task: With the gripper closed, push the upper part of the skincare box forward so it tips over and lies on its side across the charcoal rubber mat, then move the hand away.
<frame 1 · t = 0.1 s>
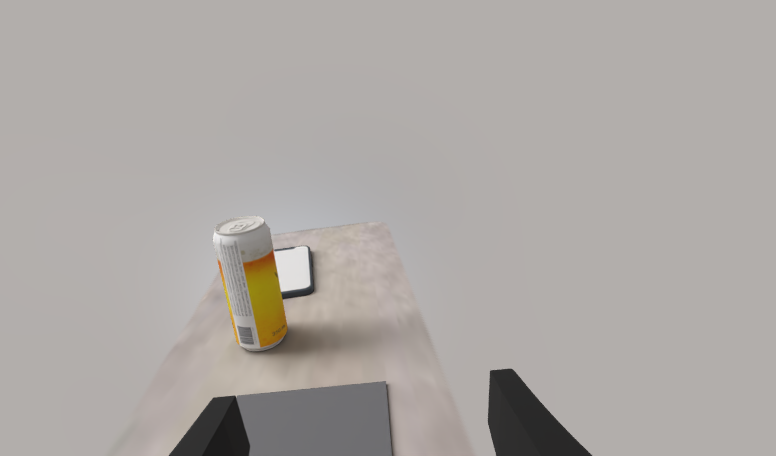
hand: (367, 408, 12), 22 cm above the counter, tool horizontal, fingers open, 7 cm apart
beer can: (263, 340, 53), on the counter
phone case: (285, 277, 70), on the counter
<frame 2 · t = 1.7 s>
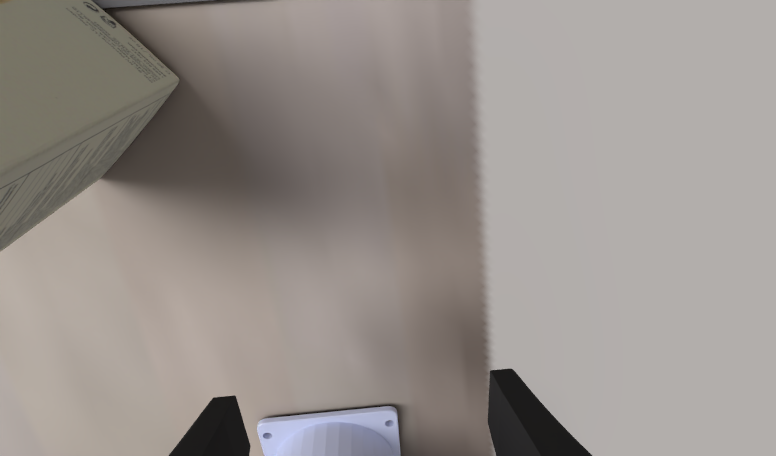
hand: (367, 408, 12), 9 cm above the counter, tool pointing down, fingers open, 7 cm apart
skincare box: (91, 95, 17), on the counter, touching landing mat
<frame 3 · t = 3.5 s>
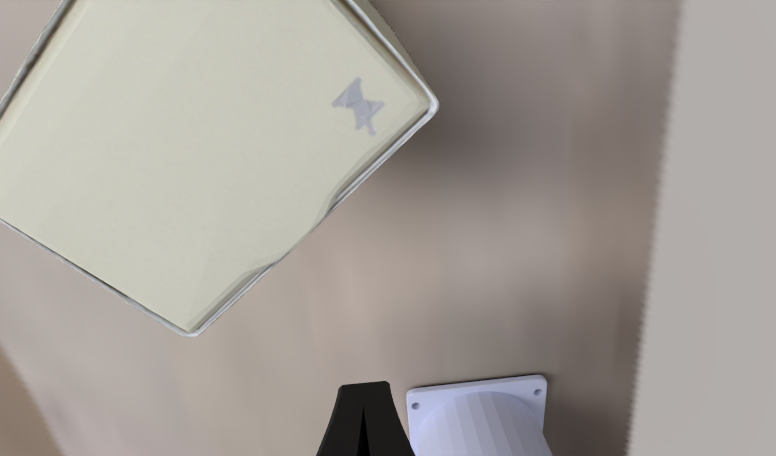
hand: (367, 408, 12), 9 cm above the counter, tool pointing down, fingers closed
skincare box: (297, 50, 17), on the counter, touching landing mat
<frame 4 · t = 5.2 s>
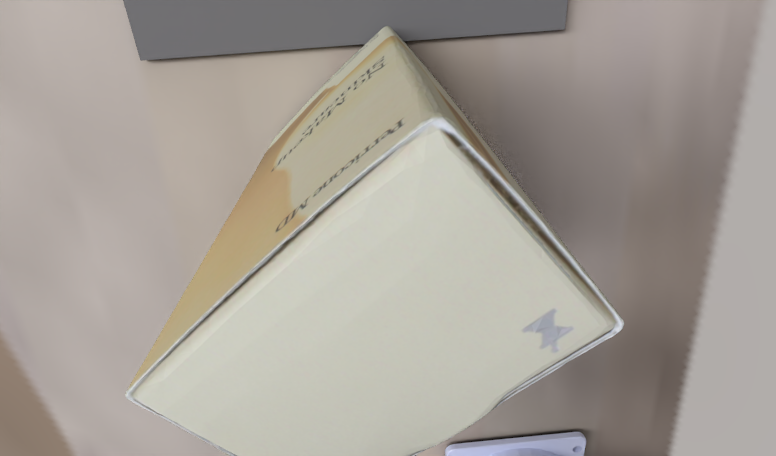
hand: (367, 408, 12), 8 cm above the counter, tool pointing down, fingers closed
skincare box: (363, 127, 17), on the counter, touching gripper, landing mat
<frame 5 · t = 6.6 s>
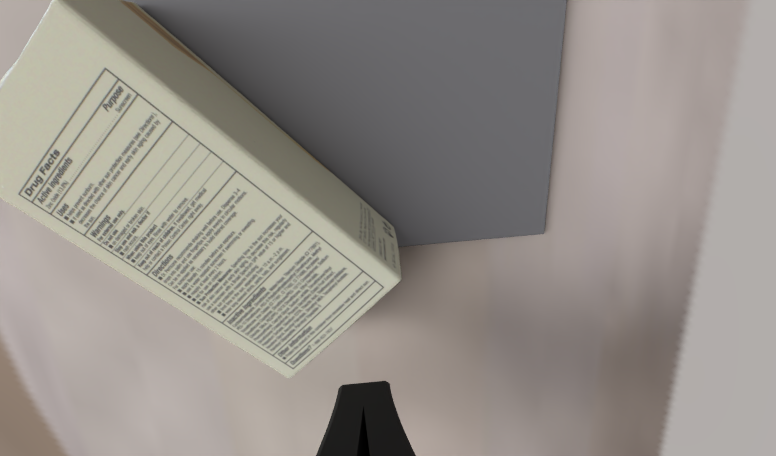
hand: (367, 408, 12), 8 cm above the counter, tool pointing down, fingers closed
skincare box: (347, 306, 17), point 2 cm above the counter, touching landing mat
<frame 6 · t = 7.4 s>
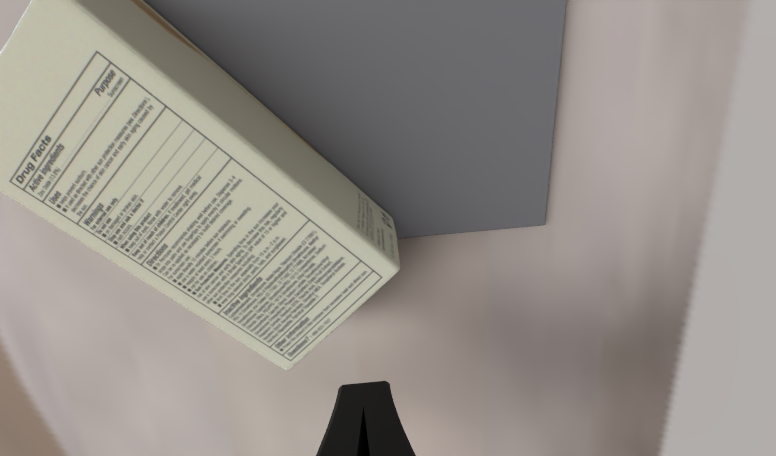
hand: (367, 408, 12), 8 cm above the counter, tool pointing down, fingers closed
skincare box: (345, 297, 17), point 2 cm above the counter, touching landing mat
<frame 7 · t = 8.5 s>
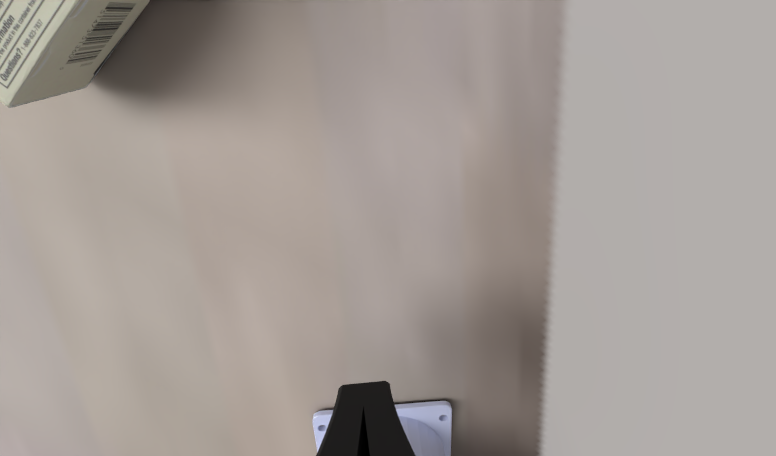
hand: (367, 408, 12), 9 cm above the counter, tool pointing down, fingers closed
skincare box: (105, 41, 14), point 2 cm above the counter, touching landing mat
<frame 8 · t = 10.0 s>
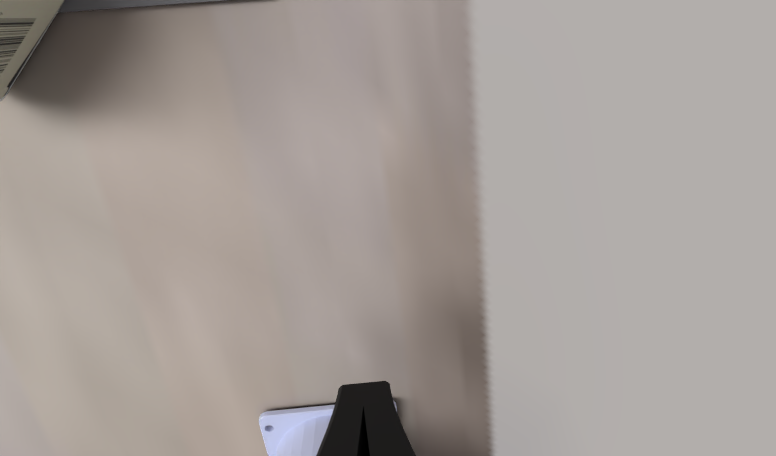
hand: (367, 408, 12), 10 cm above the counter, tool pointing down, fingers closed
skincare box: (5, 56, 15), point 2 cm above the counter, touching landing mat
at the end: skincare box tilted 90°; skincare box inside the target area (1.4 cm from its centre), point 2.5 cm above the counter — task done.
